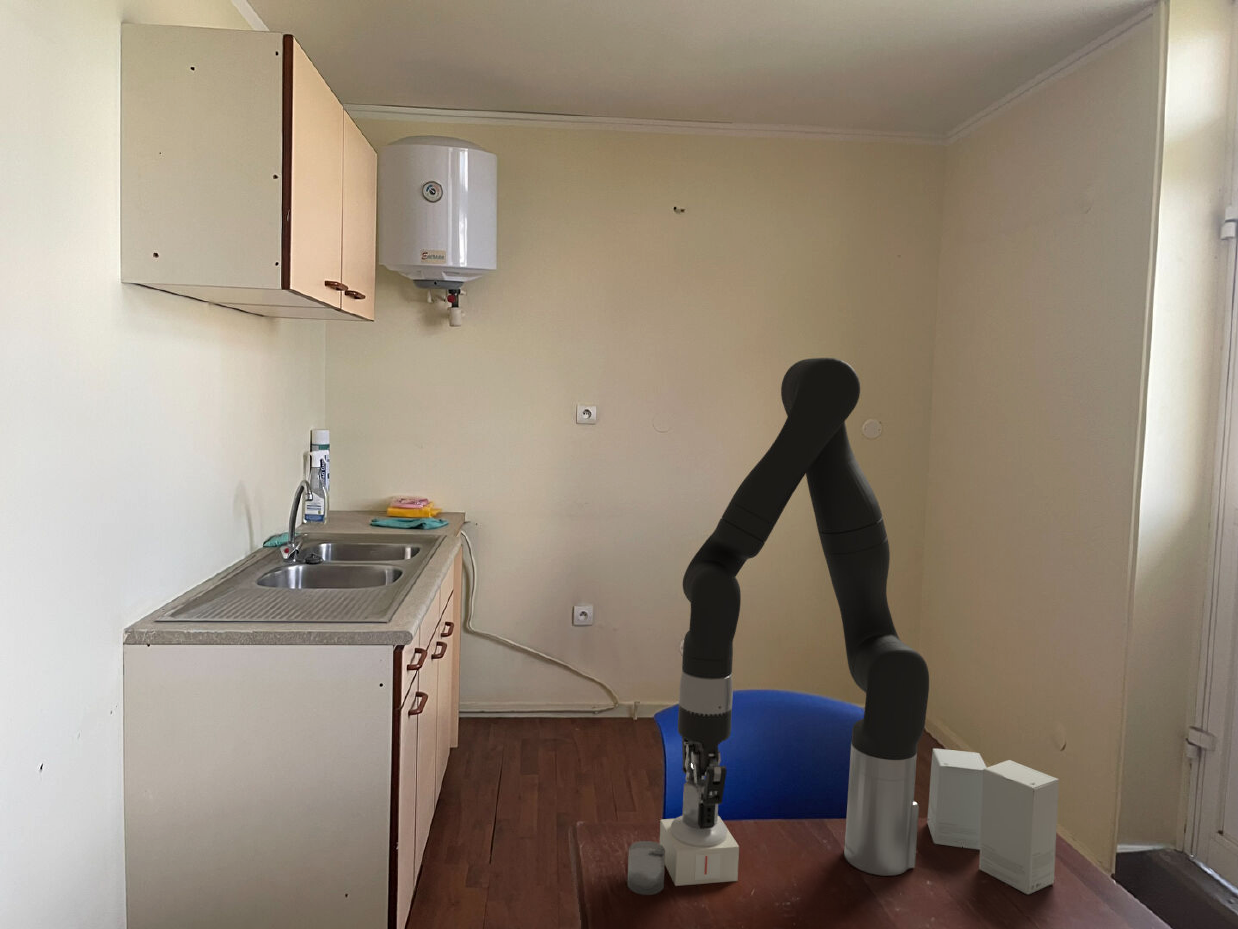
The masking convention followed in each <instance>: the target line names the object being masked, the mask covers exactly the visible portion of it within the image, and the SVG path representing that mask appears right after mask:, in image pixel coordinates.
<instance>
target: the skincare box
mask: <svg viewBox="0 0 1238 929" xmlns="http://www.w3.org/2000/svg"><path fill="white" fill-rule="evenodd" d="M986 767H987V766H986ZM1059 781H1060V779H1059V778H1057V777H1054V776H1052V775H1049V774H1046V773H1045V772H1041V771H1039V770H1037V769H1033V768H1031V767H1028V766H1026V765H1023V764H1020V763H1018V762H1016V761H1013V760H1011V759H1008V760H1004V761H1001V762H999V763H996V764H994V765H990V766H988V767H987V768H984V769H983V790H982V815H981V839H980V850H979V864H978V865H979V867H978V868H979V870H980V871H982V872H984V873H985V874H988V875H990V876H992V877H994V879H998V880H999V881H1001V882H1002V883H1004V884H1007V885H1009V886H1010V887H1013V888H1014V889H1016V890H1018V891H1019V892H1022V893H1023V894H1026V895H1030V894H1033V893H1035V892H1037V891H1040V890H1042V889H1044V888H1046V887H1049V886H1050V885H1052V884H1053V883H1055V882H1054V881H1055V868H1056V867H1055V866H1056V864H1055V863H1056V846H1057V845H1056V844H1057V827H1058V826H1057V824H1058V805H1059V786H1060V785H1059V784H1060V782H1059Z"/></svg>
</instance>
